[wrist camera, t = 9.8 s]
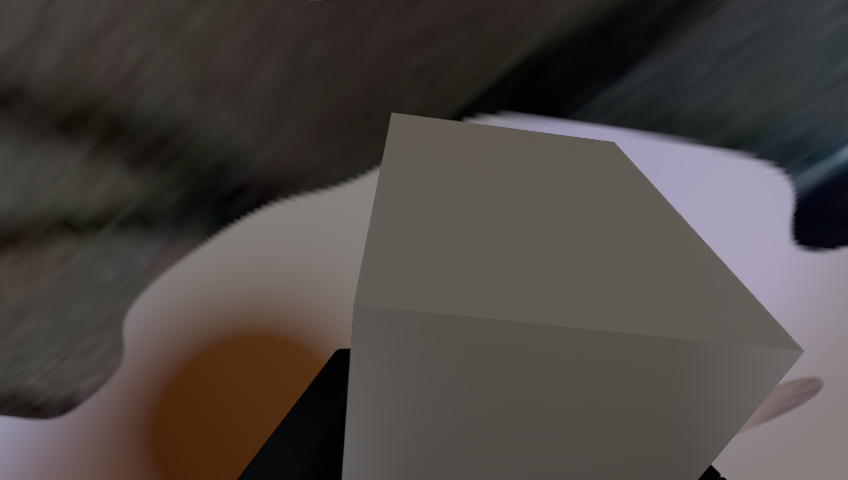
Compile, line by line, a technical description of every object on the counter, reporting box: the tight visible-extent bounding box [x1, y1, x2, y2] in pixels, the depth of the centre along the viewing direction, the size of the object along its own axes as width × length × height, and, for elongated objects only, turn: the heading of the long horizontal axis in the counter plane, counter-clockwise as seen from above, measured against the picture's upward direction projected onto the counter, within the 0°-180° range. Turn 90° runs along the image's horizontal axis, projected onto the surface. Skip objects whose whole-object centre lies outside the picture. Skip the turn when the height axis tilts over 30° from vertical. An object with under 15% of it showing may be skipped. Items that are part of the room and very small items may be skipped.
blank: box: [342, 113, 804, 480], centre depth 8 cm, size 6×4×5 cm, turn 172°
